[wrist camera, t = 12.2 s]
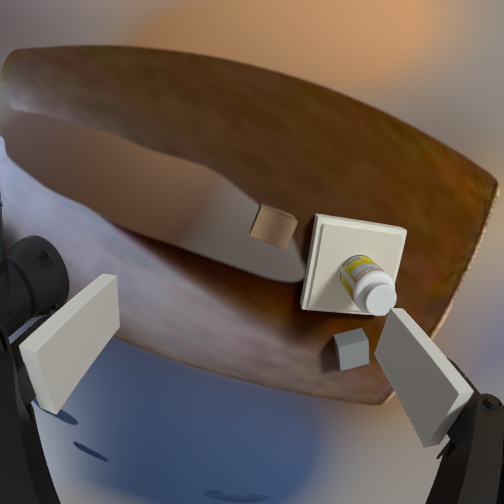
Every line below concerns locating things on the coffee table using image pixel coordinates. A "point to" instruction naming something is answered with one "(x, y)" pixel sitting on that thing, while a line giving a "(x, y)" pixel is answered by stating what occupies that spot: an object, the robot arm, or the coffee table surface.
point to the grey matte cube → (351, 349)
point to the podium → (338, 251)
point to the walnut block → (273, 226)
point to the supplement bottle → (368, 285)
